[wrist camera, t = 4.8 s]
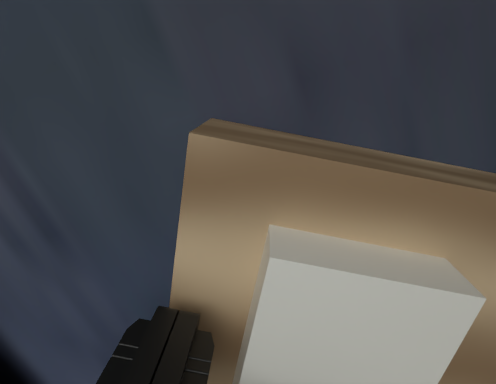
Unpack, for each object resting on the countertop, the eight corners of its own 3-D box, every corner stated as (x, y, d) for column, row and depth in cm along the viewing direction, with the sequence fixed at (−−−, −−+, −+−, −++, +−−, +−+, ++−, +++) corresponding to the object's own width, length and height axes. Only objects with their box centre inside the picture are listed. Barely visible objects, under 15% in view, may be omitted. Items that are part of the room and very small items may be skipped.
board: (211, 118, 13) (188, 132, 9) (530, 180, 13) (638, 220, 9) (178, 356, 18) (155, 429, 14) (410, 399, 18) (448, 484, 14)
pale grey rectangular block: (269, 224, 10) (269, 257, 8) (445, 258, 10) (487, 298, 8) (226, 405, 13) (220, 460, 11) (361, 431, 13) (377, 489, 11)
